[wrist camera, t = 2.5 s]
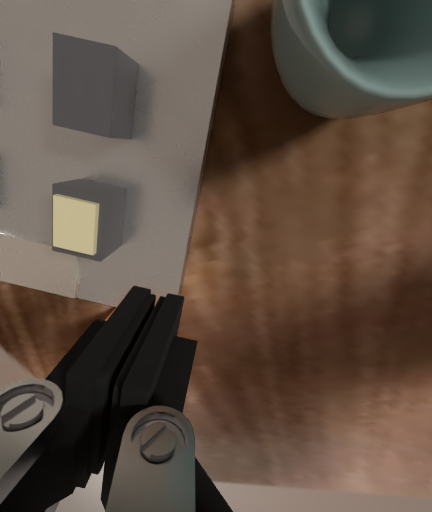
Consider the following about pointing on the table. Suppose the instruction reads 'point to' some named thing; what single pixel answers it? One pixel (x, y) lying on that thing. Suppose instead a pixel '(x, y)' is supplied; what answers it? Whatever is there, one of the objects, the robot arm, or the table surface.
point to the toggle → (93, 87)
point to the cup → (353, 54)
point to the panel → (109, 140)
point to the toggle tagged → (87, 218)
